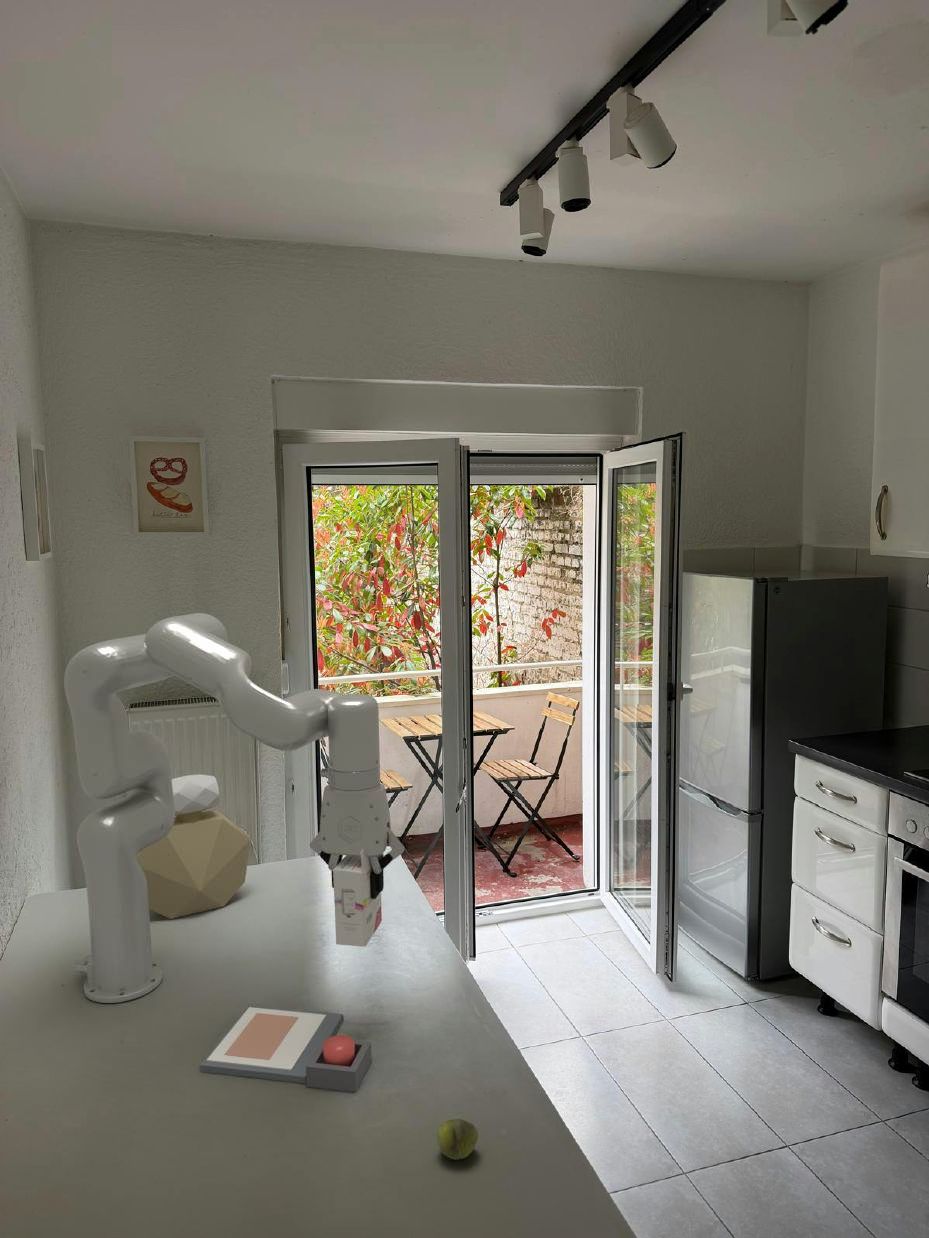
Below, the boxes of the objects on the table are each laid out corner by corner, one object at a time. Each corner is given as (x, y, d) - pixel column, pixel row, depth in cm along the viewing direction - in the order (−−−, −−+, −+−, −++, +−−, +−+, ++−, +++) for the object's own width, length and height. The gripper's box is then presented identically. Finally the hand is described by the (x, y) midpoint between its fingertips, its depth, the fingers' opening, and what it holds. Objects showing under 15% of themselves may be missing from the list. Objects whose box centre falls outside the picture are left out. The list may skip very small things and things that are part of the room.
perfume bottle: (260, 904, 180) (254, 772, 177) (138, 934, 168) (129, 793, 165) (243, 884, 191) (237, 759, 188) (127, 910, 179) (118, 777, 176)
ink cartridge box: (352, 919, 138) (350, 829, 136) (382, 921, 137) (380, 831, 135) (333, 945, 130) (331, 849, 128) (365, 948, 129) (363, 851, 127)
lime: (432, 1154, 108) (431, 1116, 107) (464, 1137, 111) (463, 1100, 110) (452, 1175, 104) (451, 1136, 104) (485, 1158, 107) (484, 1120, 106)
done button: (319, 1071, 122) (318, 1051, 122) (330, 1052, 127) (329, 1033, 126) (349, 1074, 121) (348, 1054, 121) (359, 1055, 126) (358, 1036, 125)
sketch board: (200, 1071, 125) (200, 1062, 125) (249, 1010, 141) (248, 1002, 141) (305, 1083, 122) (305, 1074, 122) (343, 1019, 138) (343, 1011, 137)
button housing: (306, 1086, 121) (305, 1066, 121) (324, 1055, 128) (324, 1036, 128) (356, 1092, 120) (355, 1071, 120) (371, 1060, 127) (371, 1041, 127)
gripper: (291, 782, 129) (295, 900, 131) (403, 787, 125) (405, 908, 127) (310, 767, 136) (314, 879, 138) (416, 772, 132) (418, 887, 134)
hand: (358, 892), depth 132 cm, fingers closed on ink cartridge box, 5 cm apart
